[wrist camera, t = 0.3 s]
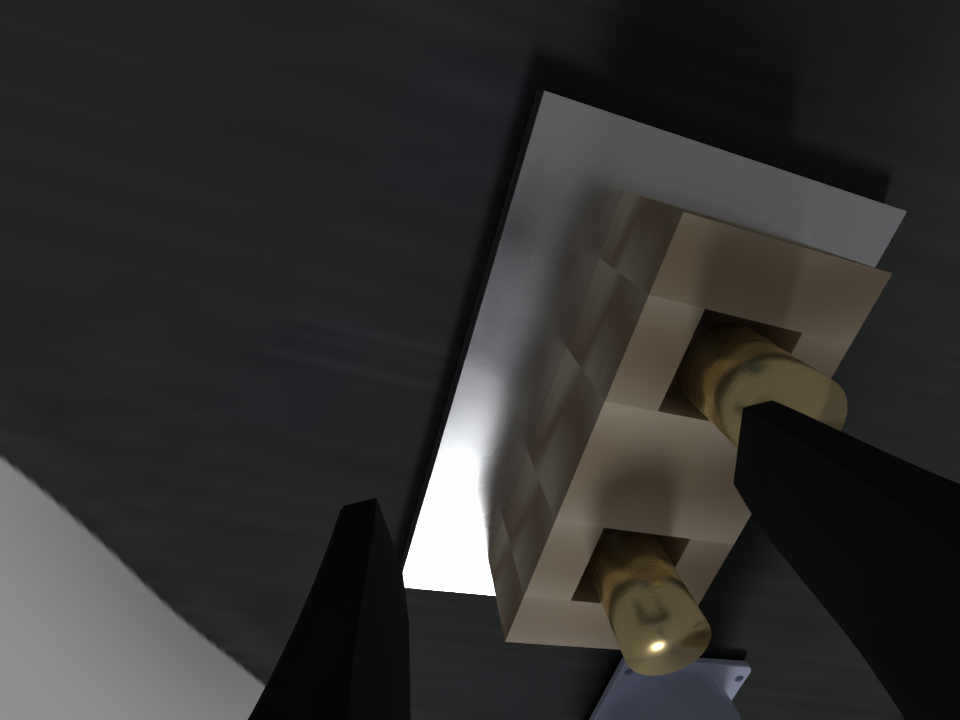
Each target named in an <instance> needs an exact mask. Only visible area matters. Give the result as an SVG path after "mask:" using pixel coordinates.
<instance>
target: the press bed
mask: <svg viewBox="0 0 960 720" xmlns="http://www.w3.org/2000/svg"><path fill="white" fill-rule="evenodd" d="M624 190H626V191H630V192H633V193H636V194H640V195H643V196H647V197H650V198H653V199H657V200H660V201H663V202H667V203H670V204H673V205H677V206H680V207H684V208H687V209H690V210H694V211H697V212H700V213H704V214H707V215H710V216H714V217H717V218H721V219H724V220H727V221H731V222H734V223H737V224H741V225H744V226H747V227H751V228H754V229H758V230H761V231H764V232H768V233H771V234H774V235H778V236H781V237H784V238H788V239H791V240H795V241H798V242H801V243H804V244H807V245H810V246H813V247H816V248H819V249H822V250H825V251H828V252H830V253H833V254H836V255H839V256H842V257H845V258H848V259H851V260H854V261H857V262H860V263H863V264H866V265H869V266H872V267H874V268H875V267H876V265H877V263H878V261H879V260H880V258H881V256H882V254H883V253H884V251H885V249H886V247H887V246H888V244H889V242H890V240H891V239H892V237H893V235H894V233H895V232H896V230H897V228H898V226H899V225H900V223H901V221H902V219H903V217H904V216H905V214H906V212H907V211H904V210H901V209H898V208H895V207H892V206H889V205H886V204H883V203H880V202H877V201H874V200H871V199H868V198H865V197H862V196H859V195H856V194H853V193H850V192H847V191H844V190H841V189H838V188H835V187H832V186H829V185H826V184H823V183H820V182H817V181H814V180H811V179H808V178H805V177H802V176H799V175H796V174H793V173H790V172H787V171H784V170H781V169H778V168H775V167H772V166H769V165H766V164H763V163H760V162H757V161H754V160H751V159H748V158H745V157H742V156H739V155H736V154H733V153H730V152H727V151H724V150H721V149H718V148H715V147H712V146H709V145H706V144H703V143H700V142H697V141H694V140H691V139H688V138H685V137H682V136H679V135H676V134H673V133H670V132H667V131H664V130H661V129H658V128H655V127H652V126H649V125H646V124H643V123H640V122H637V121H634V120H631V119H628V118H625V117H622V116H619V115H616V114H613V113H610V112H607V111H604V110H601V109H598V108H595V107H592V106H589V105H586V104H583V103H580V102H577V101H574V100H571V99H568V98H565V97H562V96H559V95H556V94H553V93H550V92H547V91H536V94H535V98H534V101H533V105H532V108H531V112H530V115H529V118H528V122H527V125H526V129H525V132H524V136H523V139H522V143H521V146H520V150H519V153H518V157H517V160H516V163H515V167H514V170H513V174H512V177H511V181H510V184H509V188H508V191H507V195H506V198H505V202H504V205H503V208H502V212H501V215H500V219H499V222H498V226H497V229H496V233H495V236H494V240H493V243H492V247H491V250H490V253H489V257H488V260H487V264H486V267H485V271H484V274H483V278H482V281H481V285H480V288H479V292H478V295H477V299H476V302H475V305H474V309H473V312H472V316H471V319H470V323H469V326H468V330H467V333H466V337H465V340H464V344H463V347H462V350H461V354H460V357H459V361H458V364H457V368H456V371H455V375H454V378H453V382H452V385H451V389H450V392H449V395H448V399H447V402H446V406H445V409H444V413H443V416H442V420H441V423H440V427H439V430H438V434H437V437H436V440H435V444H434V447H433V451H432V454H431V458H430V461H429V465H428V468H427V472H426V475H425V479H424V482H423V486H422V489H421V492H420V496H419V499H418V503H417V506H416V510H415V513H414V517H413V520H412V524H411V527H410V531H409V534H408V537H407V541H406V544H405V548H404V551H403V555H402V558H401V562H400V564H401V567H402V571H403V579H404V587H407V588H418V589H429V590H440V591H451V592H462V593H473V594H484V595H495V590H494V586H493V581H492V576H491V571H490V566H489V562H488V559H489V557H490V554H491V551H492V549H493V546H494V543H495V540H496V538H497V535H498V532H499V530H500V527H501V524H502V521H503V519H504V516H505V513H506V511H507V508H508V505H509V502H510V500H511V497H512V494H513V492H514V489H515V486H516V483H517V481H518V478H519V475H520V473H521V470H522V467H523V464H524V462H525V459H526V456H527V454H528V451H529V448H530V445H531V443H532V440H533V437H534V435H535V432H536V429H537V426H538V424H539V421H540V418H541V416H542V413H543V410H544V407H545V405H546V402H547V399H548V397H549V394H550V391H551V388H552V386H553V383H554V380H555V378H556V375H557V372H558V369H559V367H560V364H561V361H562V359H563V356H564V353H565V350H566V348H567V345H568V342H569V340H570V337H571V334H572V331H573V329H574V326H575V323H576V321H577V318H578V315H579V312H580V310H581V307H582V304H583V302H584V299H585V296H586V293H587V291H588V288H589V285H590V283H591V280H592V277H593V274H594V272H595V269H596V266H597V264H598V261H599V258H600V255H601V253H602V250H603V247H604V245H605V242H606V239H607V236H608V234H609V231H610V228H611V226H612V223H613V220H614V217H615V215H616V212H617V209H618V207H619V204H620V201H621V199H622V196H623V193H624ZM718 313H719V312H716V311H712V310H708V309H705V310H704V312H703V314H702V316H701V319H700V321H699V323H698V325H697V327H696V329H695V332H694V334H693V336H692V338H693V337H694V336H695V335H697V334H698V333H699V332H701V331H702V330H704V329H706V328H708V327H710V326H712V325H713V323H714V321H715V319H716V317H717V315H718ZM692 338H691V339H692ZM614 531H616V529H610V528H604V529H603V531H602V532H610V533H612V532H614ZM495 596H496V595H495Z"/></svg>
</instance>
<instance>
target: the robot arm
mask: <svg viewBox="0 0 960 720" xmlns="http://www.w3.org/2000/svg"><path fill="white" fill-rule="evenodd" d="M733 484H734V486H735V487H736V489H737V491H738V492H739V494H740V496H741V497H742V499H743V501H744V502H745V504H746V506H747V507H748V509H749V510H750V512H751V514H752V515H753V517H754V518H755V520H756V521H757V523H758V524H759V526H760V528H761V529H762V530H763V532H764V533H765V534H766V536H767V537H768V538H769V539H770V541H771V542H772V543H773V544H774V546H775V547H776V548H777V549H778V551H779V552H780V553H781V554H782V556H783V557H784V558H785V559H786V561H787V562H788V563H789V564H790V566H791V567H792V568H793V569H794V571H795V572H796V573H797V574H798V575H799V577H800V578H801V579H802V580H803V582H804V583H805V584H806V585H807V586H808V588H809V589H810V590H811V591H812V593H813V594H814V595H815V596H816V597H817V599H818V600H819V601H820V602H821V604H822V605H823V606H824V607H825V609H826V610H827V611H828V612H829V613H830V615H831V616H832V617H833V618H834V620H835V621H836V622H837V623H838V624H839V626H840V627H841V628H842V629H843V631H844V632H845V633H846V634H847V636H848V637H849V638H850V640H851V641H852V642H853V644H854V645H855V646H856V648H857V649H858V650H859V652H860V653H861V654H862V656H863V657H864V658H865V660H866V661H867V663H868V664H869V666H870V667H871V669H872V670H873V672H874V673H875V675H876V676H877V678H878V679H879V681H880V682H881V684H882V685H883V686H884V688H885V689H886V691H887V692H888V694H889V695H890V697H891V698H892V700H893V701H894V703H895V704H896V706H897V707H898V709H899V710H900V712H901V713H902V715H903V716H904V718H905V719H906V720H960V484H958V483H956V482H953V481H951V480H948V479H946V478H944V477H941V476H939V475H936V474H934V473H932V472H929V471H927V470H925V469H922V468H920V467H918V466H915V465H913V464H911V463H909V462H906V461H904V460H902V459H900V458H897V457H895V456H893V455H891V454H889V453H886V452H884V451H882V450H880V449H878V448H875V447H873V446H871V445H869V444H867V443H865V442H863V441H860V440H858V439H856V438H854V437H852V436H850V435H848V434H845V433H843V432H841V431H839V430H837V429H835V428H833V427H831V426H829V425H826V424H824V423H822V422H820V421H818V420H816V419H814V418H812V417H809V416H807V415H805V414H803V413H801V412H799V411H796V410H794V409H792V408H790V407H787V406H785V405H783V404H780V403H778V402H776V401H773V400H771V401H767V402H763V403H759V404H755V405H751V406H746V407H743V411H742V419H741V426H740V434H739V442H738V450H737V458H736V466H735V474H734V482H733ZM750 671H751V668H750V666H749V664H748V663H747V662H746V661H740V660H725V659H710V658H698V659H697V660H695V661H694V662H693V663H691V664H690V665H688V666H686V667H685V668H683V669H681V670H678V671H676V672H673V673H669V674H665V675H658V676H649V675H643V674H639V673H637V672H635V671H633V670H632V669H631V668H629V666H628V665H627V664H626V662H625V659H624V657H623V658H622V659H621V661H620V663H619V665H618V667H617V669H616V670H615V672H614V674H613V676H612V678H611V680H610V682H609V683H608V685H607V687H606V689H605V691H604V693H603V695H602V696H601V698H600V700H599V702H598V704H597V706H596V708H595V709H594V711H593V713H592V715H591V717H590V719H589V720H742V719H741V717H740V716H739V714H738V712H737V710H736V708H735V707H734V705H733V703H732V701H731V700H732V699H733V697H734V696H735V694H736V693H737V691H738V690H739V688H740V687H741V685H742V684H743V682H744V681H745V679H746V678H747V677H748V675H749V674H750ZM248 720H410V657H409V620H408V611H407V603H406V594H405V587H404V579H403V571H402V567H401V564H400V561H399V558H398V556H397V553H396V550H395V547H394V545H393V542H392V539H391V536H390V533H389V531H388V528H387V525H386V522H385V520H384V517H383V514H382V511H381V508H380V506H379V503H378V500H377V498H374V499H370V500H366V501H362V502H358V503H354V504H350V505H346V506H344V507H343V508H342V509H341V511H340V513H339V516H338V519H337V522H336V525H335V528H334V531H333V534H332V537H331V539H330V542H329V545H328V548H327V550H326V553H325V556H324V558H323V561H322V564H321V566H320V569H319V571H318V574H317V576H316V579H315V581H314V584H313V586H312V588H311V591H310V593H309V595H308V598H307V600H306V602H305V605H304V607H303V610H302V612H301V614H300V617H299V619H298V621H297V623H296V625H295V628H294V630H293V632H292V634H291V636H290V638H289V640H288V642H287V644H286V646H285V648H284V651H283V653H282V655H281V657H280V659H279V661H278V663H277V665H276V667H275V669H274V671H273V673H272V675H271V677H270V679H269V681H268V683H267V685H266V687H265V689H264V691H263V693H262V695H261V697H260V698H259V700H258V702H257V704H256V706H255V708H254V710H253V712H252V713H251V715H250V717H249V719H248Z"/></svg>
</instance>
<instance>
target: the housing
mask: <svg viewBox="0 0 960 720" xmlns="http://www.w3.org/2000/svg"><path fill="white" fill-rule="evenodd" d="M891 275H892V273H889V272H886V271H883V270H880V269H877V268H874V267H872V266H869V265H866V264H863V263H860V262H857V261H854V260H851V259H848V258H845V257H842V256H839V255H836V254H833V253H830V252H828V251H825V250H822V249H819V248H816V247H813V246H810V245H807V244H804V243H801V242H798V241H795V240H791V239H788V238H784V237H781V236H778V235H774V234H771V233H768V232H764V231H761V230H758V229H754V228H751V227H747V226H744V225H741V224H737V223H734V222H731V221H727V220H724V219H721V218H717V217H714V216H710V215H707V214H704V213H700V212H697V211H694V210H690V209H687V208H684V207H680V206H677V205H673V204H670V203H667V202H663V201H660V200H657V199H653V198H650V197H647V196H643V195H640V194H636V193H633V192H630V191H626V190H624V193H623V196H622V199H621V201H620V204H619V207H618V209H617V212H616V215H615V217H614V220H613V223H612V226H611V228H610V231H609V234H608V236H607V239H606V242H605V245H604V247H603V250H602V253H601V255H600V258H599V261H598V264H597V266H596V269H595V272H594V274H593V277H592V280H591V283H590V285H589V288H588V291H587V293H586V296H585V299H584V302H583V304H582V307H581V310H580V312H579V315H578V318H577V321H576V323H575V326H574V329H573V331H572V334H571V337H570V340H569V342H568V345H567V348H566V350H565V353H564V356H563V359H562V361H561V364H560V367H559V369H558V372H557V375H556V378H555V380H554V383H553V386H552V388H551V391H550V394H549V397H548V399H547V402H546V405H545V407H544V410H543V413H542V416H541V418H540V421H539V424H538V426H537V429H536V432H535V435H534V437H533V440H532V443H531V445H530V448H529V451H528V454H527V456H526V459H525V462H524V464H523V467H522V470H521V473H520V475H519V478H518V481H517V483H516V486H515V489H514V492H513V494H512V497H511V500H510V502H509V505H508V508H507V511H506V513H505V516H504V519H503V521H502V524H501V527H500V530H499V532H498V535H497V538H496V540H495V543H494V546H493V549H492V551H491V554H490V557H489V559H488V562H489V566H490V571H491V576H492V581H493V586H494V590H495V595H496V600H497V605H498V610H499V615H500V619H501V624H502V629H503V634H504V639H505V642H516V643H531V644H545V645H560V646H574V647H589V648H603V649H618V650H620V647H619V645H618V642H617V640H616V638H615V635H614V633H613V630H612V628H611V626H610V623H609V621H608V618H607V616H606V614H605V611H604V609H603V606H602V604H601V602H600V599H599V597H598V594H597V592H596V590H595V587H594V585H593V582H592V580H591V578H590V575H589V573H588V570H587V564H588V562H589V560H590V557H591V555H592V553H593V551H594V549H595V547H596V544H597V542H598V541H599V540H600V539H602V538H603V537H604V536H606V535H608V534H610V532H602V531H603V529H604V528H610V529H616V531H617V530H626V531H633V532H641V533H649V534H654V536H655V537H656V538H657V539H658V541H659V543H660V544H661V546H662V547H663V549H664V551H665V552H666V554H667V556H668V557H669V559H670V561H671V562H672V564H673V566H674V567H675V569H676V571H677V572H678V574H679V575H680V577H681V579H682V580H683V582H684V584H685V585H686V587H687V589H688V590H689V592H690V594H691V595H692V597H693V599H694V600H695V602H696V604H697V605H699V603H700V601H701V600H702V598H703V596H704V595H705V593H706V591H707V590H708V588H709V586H710V584H711V583H712V581H713V579H714V578H715V576H716V574H717V572H718V571H719V569H720V567H721V566H722V564H723V562H724V560H725V559H726V557H727V555H728V554H729V552H730V550H731V548H732V547H733V545H734V543H735V542H736V540H737V538H738V536H739V535H740V533H741V531H742V530H743V528H744V526H745V524H746V523H747V521H748V519H749V518H750V516H751V512H750V510H749V509H748V507H747V506H746V504H745V502H744V501H743V499H742V497H741V496H740V494H739V492H738V491H737V489H736V487H735V486H734V484H733V482H734V474H735V466H736V458H737V450H738V448H737V447H736V446H735V445H734V444H733V443H732V442H731V441H730V440H729V439H728V438H727V437H726V436H725V435H724V434H723V433H722V432H721V431H720V430H719V429H718V428H717V427H716V426H715V425H714V424H713V423H712V422H711V421H710V420H709V419H708V418H707V417H706V416H705V415H704V414H703V413H702V412H701V411H700V410H699V409H698V408H697V407H696V406H695V405H694V404H693V403H692V402H691V401H690V400H689V399H688V398H687V397H686V396H685V395H684V394H683V393H682V392H681V391H680V389H679V387H678V384H677V381H676V371H677V369H678V366H679V364H680V362H681V360H682V358H683V356H684V353H685V351H686V349H687V347H688V345H689V342H690V340H691V338H692V336H693V334H694V332H695V329H696V327H697V325H698V323H699V321H700V319H701V316H702V314H703V312H704V310H705V309H708V310H712V311H716V312H719V313H718V315H717V317H716V319H715V321H714V323H713V325H715V324H719V323H725V322H735V323H740V324H743V325H745V326H747V327H749V328H750V329H752V330H753V331H755V332H757V333H758V334H760V335H761V336H763V337H765V338H766V339H768V340H769V341H771V342H773V343H774V344H776V345H777V346H779V347H780V348H782V349H784V350H785V351H787V352H788V353H790V354H792V355H793V356H795V357H796V358H798V359H799V360H801V361H803V362H804V363H806V364H807V365H809V366H811V367H812V368H814V369H815V370H817V371H819V372H820V373H822V374H823V375H825V376H826V377H828V378H830V379H831V377H832V376H833V374H834V372H835V370H836V369H837V367H838V365H839V364H840V362H841V360H842V358H843V357H844V355H845V353H846V352H847V350H848V348H849V347H850V345H851V343H852V341H853V340H854V338H855V336H856V335H857V333H858V331H859V329H860V328H861V326H862V324H863V323H864V321H865V319H866V317H867V316H868V314H869V312H870V311H871V309H872V307H873V305H874V304H875V302H876V300H877V299H878V297H879V295H880V293H881V292H882V290H883V288H884V287H885V285H886V283H887V281H888V280H889V278H890V276H891Z"/></svg>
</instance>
